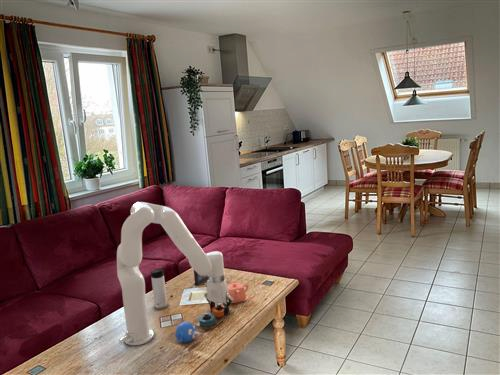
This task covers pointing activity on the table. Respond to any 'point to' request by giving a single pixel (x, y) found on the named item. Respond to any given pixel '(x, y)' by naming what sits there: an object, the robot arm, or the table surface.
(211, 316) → the teal faceted ring
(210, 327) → the stand
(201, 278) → the vhs cassette tape
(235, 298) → the teapot
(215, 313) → the orange octagonal ring
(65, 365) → the table surface
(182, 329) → the toy whale
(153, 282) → the travel mug
